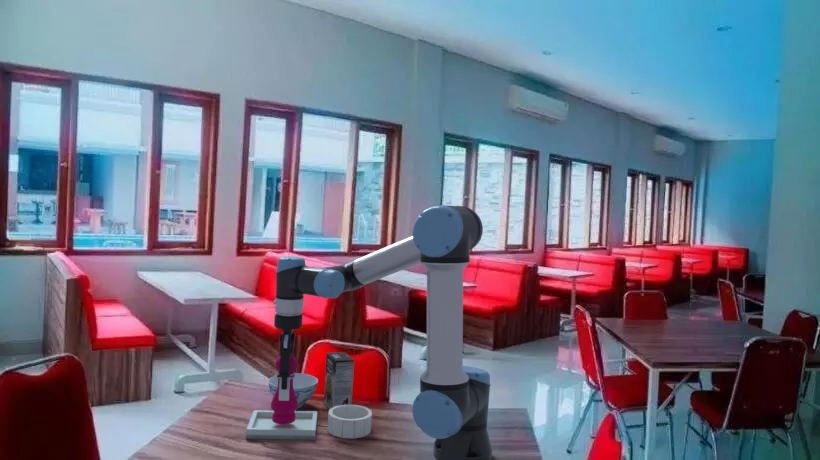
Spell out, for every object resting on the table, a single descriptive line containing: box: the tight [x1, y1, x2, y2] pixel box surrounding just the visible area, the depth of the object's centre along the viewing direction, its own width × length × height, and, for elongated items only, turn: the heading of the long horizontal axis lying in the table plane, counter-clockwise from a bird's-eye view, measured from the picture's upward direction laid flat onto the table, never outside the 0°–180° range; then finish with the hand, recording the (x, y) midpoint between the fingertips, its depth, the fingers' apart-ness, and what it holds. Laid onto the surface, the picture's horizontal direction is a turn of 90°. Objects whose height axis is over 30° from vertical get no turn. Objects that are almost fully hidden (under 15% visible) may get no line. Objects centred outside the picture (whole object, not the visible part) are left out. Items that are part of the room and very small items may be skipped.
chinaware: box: [267, 372, 319, 409], centre depth 186 cm, size 15×15×8 cm
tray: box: [245, 409, 318, 440], centre depth 167 cm, size 18×14×2 cm
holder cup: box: [327, 404, 373, 439], centre depth 169 cm, size 12×12×5 cm
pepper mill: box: [270, 354, 298, 424], centre depth 166 cm, size 7×7×20 cm
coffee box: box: [323, 351, 355, 410], centre depth 186 cm, size 9×6×16 cm
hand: (284, 395), depth 167 cm, fingers closed on pepper mill, 6 cm apart
